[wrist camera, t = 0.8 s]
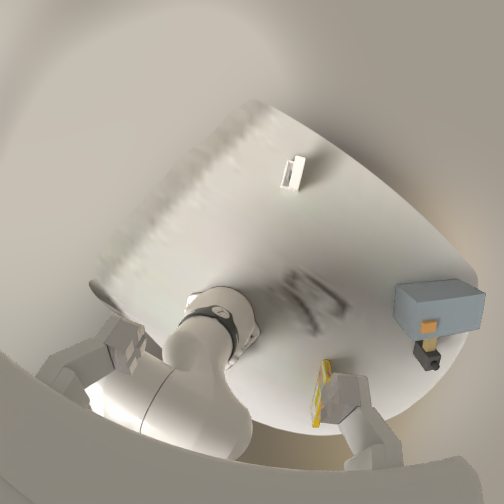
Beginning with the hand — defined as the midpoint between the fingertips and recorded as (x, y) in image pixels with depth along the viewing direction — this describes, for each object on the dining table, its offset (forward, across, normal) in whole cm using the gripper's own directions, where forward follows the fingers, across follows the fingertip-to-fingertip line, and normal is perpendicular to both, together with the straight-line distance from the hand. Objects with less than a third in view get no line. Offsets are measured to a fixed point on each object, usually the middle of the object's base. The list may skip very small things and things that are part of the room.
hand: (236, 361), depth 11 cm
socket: (+40, +42, -20) cm, 61 cm away
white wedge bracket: (+51, +3, -5) cm, 51 cm away
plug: (+36, +45, -30) cm, 65 cm away
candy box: (+32, +24, -48) cm, 62 cm away
